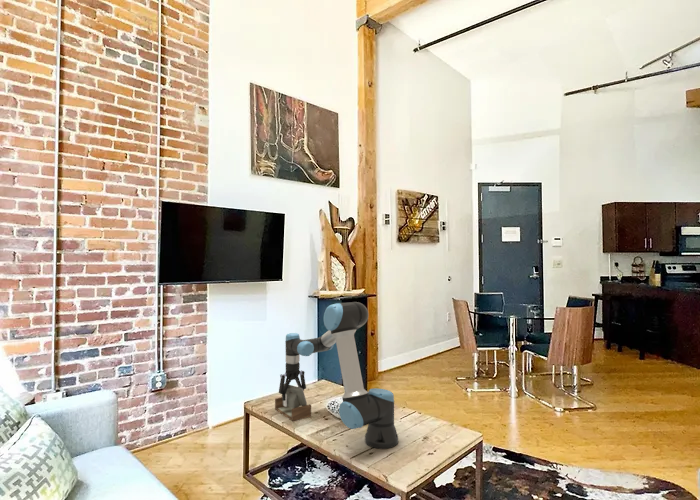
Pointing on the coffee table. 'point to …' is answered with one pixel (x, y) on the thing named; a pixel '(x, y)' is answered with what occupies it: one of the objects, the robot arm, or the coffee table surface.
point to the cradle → (292, 410)
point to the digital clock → (295, 397)
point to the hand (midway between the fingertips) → (292, 404)
